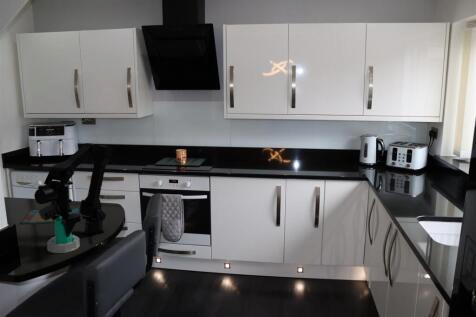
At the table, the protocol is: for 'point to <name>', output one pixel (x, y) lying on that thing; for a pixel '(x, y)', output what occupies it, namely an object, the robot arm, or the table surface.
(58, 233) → the candle
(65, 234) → the robot arm
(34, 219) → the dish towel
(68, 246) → the candle dish
